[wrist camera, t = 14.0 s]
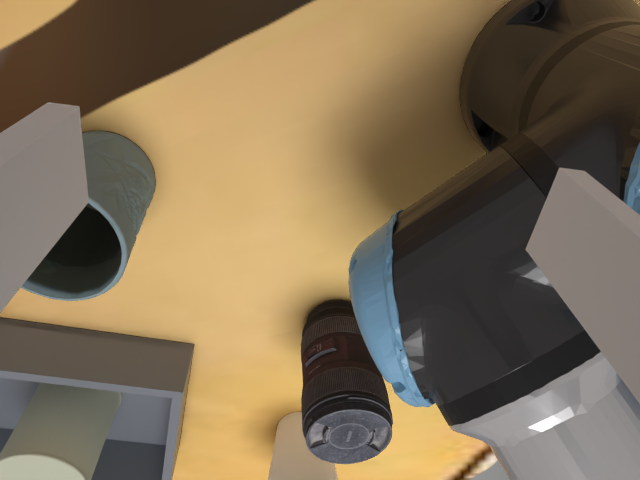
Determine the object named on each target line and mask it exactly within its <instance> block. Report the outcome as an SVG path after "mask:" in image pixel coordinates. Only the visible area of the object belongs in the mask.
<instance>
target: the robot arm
mask: <svg viewBox="0 0 640 480" xmlns="http://www.w3.org/2000/svg"><path fill="white" fill-rule="evenodd" d="M460 103H461V110H462V114H463V118H464V120H465V123H466V125H467V127H468V129H469V131H470V133H471V134H472V136H473V137H474V138H475V140H476V141H477V142H478V143H479V144H480V145H481V146H482V147H483V149H484V150H485V151H486V152H487V153H488V154H486V155H485V156H483V157H482V158H480V159H479V160H477V161H476V162H474V163H473V164H471V165H470V166H469V167H467V168H466V169H464V170H463V171H461V172H460V173H458V174H457V175H455V176H454V177H452V178H451V179H450V180H448V181H447V182H445V183H444V184H442V185H441V186H439V187H438V188H436V189H435V190H433V191H432V192H430V193H429V194H428V195H426V196H425V197H423V198H422V199H420V200H419V201H417V202H416V203H414V204H413V205H411V206H410V207H409V208H407V209H406V210H404V211H403V210H400V211H398V212H396V213H395V214H394V215H392V217H391V219H390V221H388V222H387V223H386V224H385V225H383V226H382V227H381V228H379V229H378V230H377V231H375V232H374V233H373V234H372V235H370V236H369V237H368V238H366V239H365V240H364V241H362V242H361V243H360V244H359V245H358V247H357V248H356V249H355V251H354V253H353V255H352V257H351V261H350V266H349V291H350V297H351V302H352V306H353V310H354V314H355V317H356V320H357V323H358V326H359V329H360V332H361V334H362V337H363V339H364V341H365V344H366V346H367V348H368V350H369V353H370V355H371V357H372V359H373V361H374V362H375V364H376V366H377V368H378V370H379V371H380V373H381V374H382V376H383V377H384V379H385V380H386V381H387V382H389V383H391V384H392V387H393V389H394V392H395V393H396V394H397V395H398V397H399V398H400V399H402V400H403V401H404V402H405V403H407V404H409V405H411V406H414V407H421V406H424V407H429V406H431V405H433V404H434V403H436V405H437V406H438V408H439V409H440V411H441V413H442V415H443V416H444V418H445V420H446V422H447V423H448V425H449V426H450V428H451V429H452V430H453V431H456V432H459V433H462V434H464V435H467V436H470V437H473V438H476V439H479V440H482V441H484V442H485V443H487V444H488V445H489V446H490V447H491V449H492V451H493V452H494V454H495V456H496V457H497V459H498V461H499V463H500V464H501V466H502V468H503V469H504V471H505V473H506V474H507V476H508V478H509V479H510V480H640V7H639V6H638V5H637V4H636V3H635V2H634V1H633V0H512V1H511V2H509V3H508V4H507V5H506V6H504V7H503V8H502V9H501V10H500V11H499V12H498V13H496V14H495V16H494V17H493V18H492V19H491V20H490V21H489V22H488V23H487V24H486V26H485V27H484V28H483V30H482V31H481V32H480V34H479V35H478V37H477V39H476V40H475V42H474V44H473V46H472V48H471V50H470V52H469V54H468V57H467V59H466V62H465V65H464V68H463V72H462V77H461V84H460ZM88 202H89V199H88V189H87V179H86V168H85V158H84V148H83V138H82V128H81V118H80V107H79V106H72V105H65V104H58V103H50V102H48V103H46V104H45V105H43V106H42V107H40V108H39V109H37V110H35V111H34V112H33V113H31V114H29V115H28V116H26V117H25V118H23V119H22V120H20V121H19V122H17V123H16V124H14V125H12V126H11V127H9V128H8V129H6V130H5V131H3V132H1V133H0V313H1V311H2V310H3V309H4V308H5V306H6V305H7V304H8V303H9V301H10V300H11V299H12V298H13V296H14V295H15V294H16V293H17V291H18V290H19V289H20V288H21V286H22V285H23V284H24V283H25V281H26V280H27V279H28V278H29V276H30V275H31V274H32V273H33V271H34V270H35V269H36V268H37V266H38V265H39V264H40V263H41V261H42V260H43V259H44V258H45V256H46V255H47V254H48V253H49V251H50V250H51V249H52V248H53V246H54V245H55V244H56V243H57V241H58V240H59V239H60V238H61V236H62V235H63V234H64V233H65V231H66V230H67V229H68V227H69V226H70V225H71V224H72V222H73V221H74V220H75V219H76V217H77V216H78V215H79V214H80V212H81V211H82V210H83V209H84V207H85V206H86V205H87V204H88Z"/></svg>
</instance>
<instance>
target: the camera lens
mask: <svg viewBox="0 0 640 480" xmlns="http://www.w3.org/2000/svg"><path fill="white" fill-rule="evenodd" d="M301 361H302V371H303V389H302V431H303V435H304V438H305V439H306V445H307V447H308V449H309V451H310V452H311V453H312V454H313V455H315V456H316V457H317V458H319V459H321V460H324V461H327V462H330V463H337V464H353V463H358V462H362V461H366V460H368V459H370V458H373V457H375V456H377V455H378V454H379V453H380V452H382V451H383V450H384V449H385V448H386V447H387V445H388V444H389V442H390V440H391V438H392V424H393V419H392V413H391V409H390V404H389V399H388V394H387V390H386V386H385V383H384V380H383V378H382V374H381V373H380V371H379V370H378V368H377V366H376V364H375V362H374V361H373V359H372V357H371V355H370V353H369V350H368V348H367V346H366V344H365V341H364V339H363V337H362V334H361V332H360V329H359V326H358V323H357V320H356V317H355V314H354V310H353V306H352V303H350V302H347V301H343V300H333V301H328V302H325V303H322V304H321V305H319V306H317V307H316V308H315V309H314V310H312V312H311V313H310V314H309V316H308V318H307V322H306V324H305V326H304V329H303V333H302V342H301Z"/></svg>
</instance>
